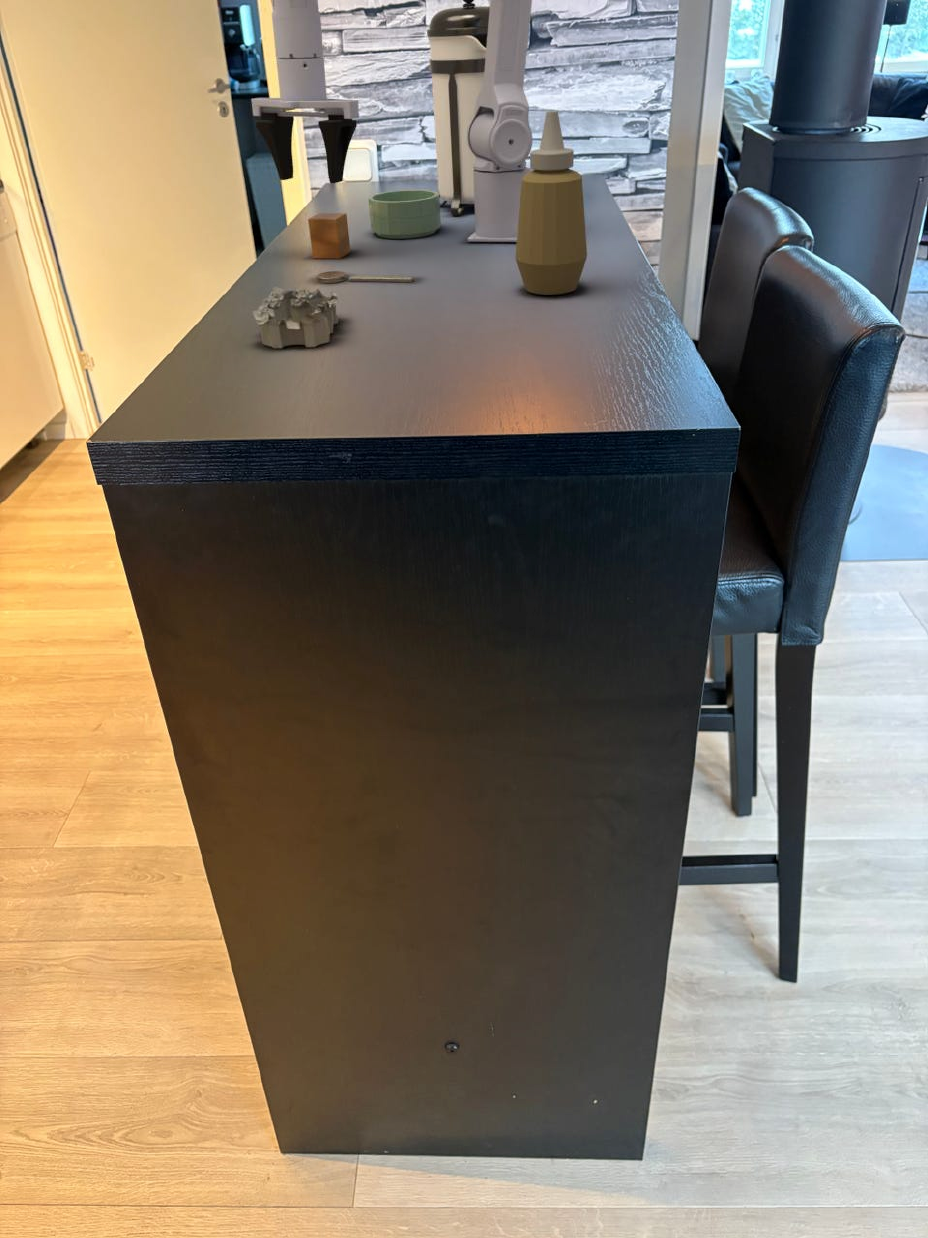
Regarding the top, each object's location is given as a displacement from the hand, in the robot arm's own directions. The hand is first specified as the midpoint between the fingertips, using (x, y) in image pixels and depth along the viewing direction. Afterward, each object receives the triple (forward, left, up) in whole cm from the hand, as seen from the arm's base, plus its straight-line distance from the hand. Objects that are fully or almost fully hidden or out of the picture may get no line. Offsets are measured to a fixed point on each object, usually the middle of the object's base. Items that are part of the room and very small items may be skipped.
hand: (311, 180), depth 120 cm
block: (-1, -2, -10) cm, 10 cm away
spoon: (-10, +11, -10) cm, 18 cm away
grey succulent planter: (-11, +33, -10) cm, 36 cm away
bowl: (-7, -17, -10) cm, 21 cm away
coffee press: (-12, -37, -10) cm, 40 cm away
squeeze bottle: (-34, +14, -10) cm, 38 cm away
